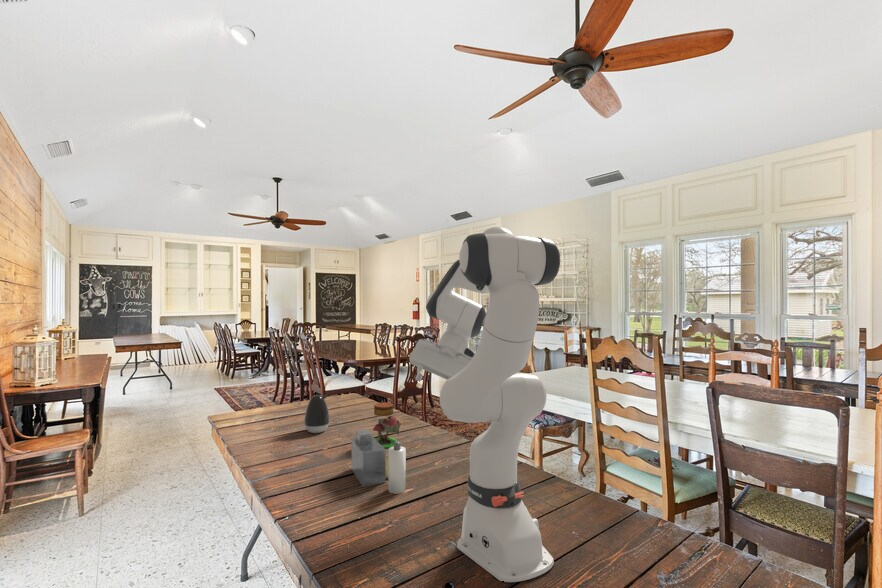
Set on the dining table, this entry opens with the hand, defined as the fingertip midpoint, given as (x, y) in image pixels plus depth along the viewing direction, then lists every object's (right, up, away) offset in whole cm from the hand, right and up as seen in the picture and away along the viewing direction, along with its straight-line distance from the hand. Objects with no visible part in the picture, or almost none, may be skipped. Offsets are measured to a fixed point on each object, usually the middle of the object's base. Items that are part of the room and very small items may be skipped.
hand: (432, 386), depth 122 cm
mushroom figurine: (-19, -31, +40) cm, 54 cm away
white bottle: (-10, -31, +2) cm, 33 cm away
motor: (-18, -31, +13) cm, 38 cm away
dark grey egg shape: (-49, -31, +54) cm, 79 cm away
